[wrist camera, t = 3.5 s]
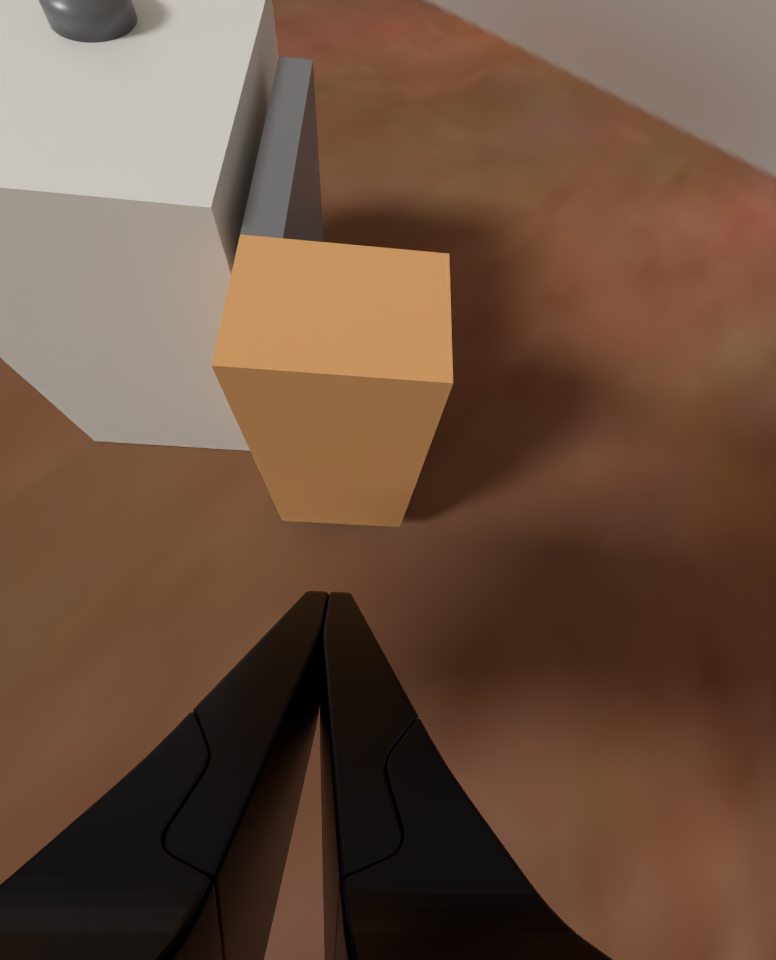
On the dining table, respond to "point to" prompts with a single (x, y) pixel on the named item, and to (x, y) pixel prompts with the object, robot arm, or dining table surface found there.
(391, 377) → the side door
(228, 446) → the block
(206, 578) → the dining table surface
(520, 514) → the dining table surface
